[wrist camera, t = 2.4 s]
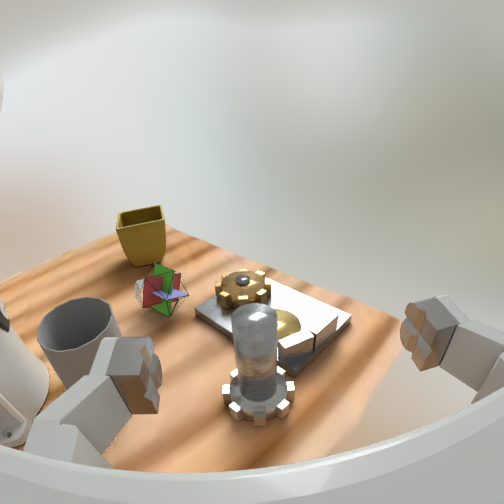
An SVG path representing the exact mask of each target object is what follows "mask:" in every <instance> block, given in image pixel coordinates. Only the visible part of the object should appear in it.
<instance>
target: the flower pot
mask: <svg viewBox="0 0 504 504" xmlns="http://www.w3.org/2000/svg"><path fill="white" fill-rule="evenodd" d="M116 231H117V234H118V237H119V240H120V243H121V245H122V248H123V251H124V253H125V255H126V256H127V258H128V259H129V260H130V261H131V263H133V264H134V265H135V266H137V267H138V266H143V265H148V264H153V263H158V262H161V261H162V259H163V257H164V254H165V250H166V230H165V217H164V214H163V210H162V206H161V205H157V206H151V207H147V208H141V209H136V210H131V211H126V212H122V213H119V214H118V221H117V225H116Z"/></svg>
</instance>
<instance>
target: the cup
mask: <svg viewBox="0 0 504 504" xmlns="http://www.w3.org/2000/svg"><path fill="white" fill-rule="evenodd" d="M105 337H122V335H121V333H120V330H119V328H118V325H117V322H116V320H115V317H114V314H113V311H112V309H111V306H110V304H109V303H108V302H106V301H104V300H103V299H101V298H95V297H82V298H77V299H72V300H69V301H67V302H65V303H63V304H61V305H58V306H56V307H55V308H54V309H53V310H51V311H50V312H49V313H48V314H47V315H45V316H44V318H43V319H42V321H41V323H40V324H39V326H38V328H37V340H38V342H39V344H40V346H41V348H42V349H43V351H44V353H45V355H46V356H47V358H48V360H49V362H50V363H51V365H52V367H53V368H54V370H55V371H56V373H57V375H58V376H59V378H60V379H61V381H62V383H63V384H64V386H65V387H66V389H67V390H68V389H69V388H70V387H71V386H73V385H74V384H75V383H76V382H77V381H78V380H80V379H81V378H82V377H83V376H84V375H89V373H90V371H91V368H92V365H93V362H94V359H95V356H96V354H97V351H98V348H99V345H100V343H101V340H102V339H103V338H105Z"/></svg>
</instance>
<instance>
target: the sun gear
mask: <svg viewBox="0 0 504 504" xmlns="http://www.w3.org/2000/svg"><path fill="white" fill-rule="evenodd" d="M221 277H222V282H216V283H215V290H216V297H217V299H219V298H220V303H221V306H222V307H224V308H226V309H228V308H229V307H234V308H239V307H240V306H243V305H246V304H251V303H260V304H267V296H271V279H265V273H263V272H261V271H257V272H251V271H247V269H239V272H235V273H231V274H230V273H228V272H227V273H225V274H223V275H221Z"/></svg>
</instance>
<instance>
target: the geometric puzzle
mask: <svg viewBox="0 0 504 504" xmlns="http://www.w3.org/2000/svg"><path fill="white" fill-rule="evenodd" d="M153 266H154V265H153ZM150 269H152V268H150ZM174 272H176V271H175V270H171V269H169V268H166V267H164V266H161V265H159V264H156V263H155V269H154V277H153V276H151V278H149V277H147V278H144V279H139V280H136V285H135V297H136V298H137V300H138V302H139V303H140V305H141V306H142V302H141V297H140V292H141V288H144V290H143V293H142V294H143V307H142V308H149V307H148V306H152V308H154V309H156V310H158V311H159V312H161V313H163V314H165V316H166V315H167V316H168V317H170V318H171V316H172V315H170V311H171V302H174V301H177V302H178V298H180V297H183V298H185V296H186V297H187V296H190V295H189V293H188V292H187V293H188V294H185V293H183V292H181V291H179V287H180V282H181V281H180V277H181V276H182V275H181V273H180V274H174ZM148 273H149V272H148ZM178 273H179V272H178ZM144 276H145V275H144ZM146 276H147V275H146ZM143 281H144V283H143ZM184 284H185V283H184ZM182 285H183V284H182ZM183 287H184V286H183ZM184 288H185V287H184ZM186 289H187V288H186ZM186 289H185V290H186ZM181 299H182V298H181ZM179 300H180V299H179ZM184 301H185V300H184ZM184 301H183V302H184ZM176 304H177V303H176ZM175 306H176V305H175ZM174 308H175V307H174ZM177 309H178V308H177ZM177 309H176V310H177ZM173 310H174V309H173ZM150 311H151V310H150ZM153 312H154V311H153ZM172 312H173V311H172ZM156 313H157V312H156ZM159 314H160V313H159ZM163 314H162V315H163ZM171 314H172V313H171Z"/></svg>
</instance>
